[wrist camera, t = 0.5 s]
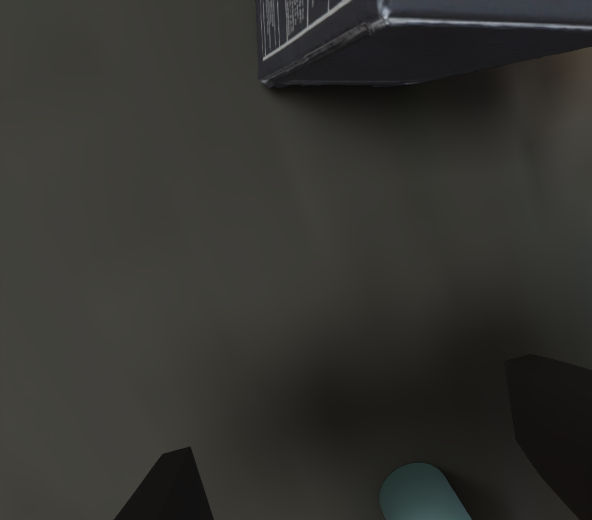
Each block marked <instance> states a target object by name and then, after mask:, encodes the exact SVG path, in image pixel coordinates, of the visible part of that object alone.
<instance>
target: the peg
mask: <svg viewBox="0 0 592 520" xmlns="http://www.w3.org/2000/svg"><path fill="white" fill-rule="evenodd" d="M379 503H380V507H381V510H382V512H383V515H384V517H385V520H472V519H471V518H470V516H469V514H468V513H467V511H466V510H465V508H464V506H463V505H462V503H461V502H460V500H459V498H458V497H457V495H456V494H455V492H454V490H453V489H452V487H451V486H450V484H449V482H448V481H447V479H446V478H445V476H444V475H443V473H442V472H441V471H440V470H439V469H437V468H436V467H434V466H432V465H430V464H426V463H410V464H407V465H404V466H401V467H400V468H398V469H396V470H395V471H393V472H392V473H391V474H390V475H389V476H388V477H387V478H386V480H385V481H384V483H383V484H382V487H381V489H380V493H379Z"/></svg>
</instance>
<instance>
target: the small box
mask: <svg viewBox="0 0 592 520" xmlns="http://www.w3.org/2000/svg"><path fill="white" fill-rule="evenodd" d="M255 1H256V22H257V43H258V65H259V70H258V79H259V80H260V81H261V82H262V83H263V84H264V85H266V86H267V87H268V88H271V87H273V86H274V87H284V86H289V85H294V84H297V85H301V86H304V87H305V86H307V85H314V86H320V85H324V84H327V85H329V86H330V85H350V86H355V85H371V86H373V87H388V86H390V87H393V86H400V85H415V84H419V83H423V82H426V81H432V80H437V79H441V78H445V77H450V76H454V75H459V74H464V73H469V72H473V71H478V70H483V69H487V68H491V67H498V66H502V65H506V64H511V63H515V62H520V61H525V60H530V59H534V58H541V57H543V56H548V55H553V54H560V53H564V52H570V51H574V50H578V49H582V48H586V47H592V0H255Z"/></svg>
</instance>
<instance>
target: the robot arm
mask: <svg viewBox="0 0 592 520" xmlns="http://www.w3.org/2000/svg"><path fill="white" fill-rule="evenodd" d="M505 368H506V375H507V382H508V389H509V396H510V403H511V410H512V417H513V424H514V431H515V437H516V441H517V442H518V444H519V445H520V447H521V448H522V450H523V451H524V453H525V454H526V456H527V457H528V459H529V460H530V462H531V463H532V465H533V466H534V467H535V469H536V470H537V471H538V473H539V474H540V476H541V477H542V478H543V479H544V481H545V482H546V483H547V484H548V485H549V486H550V487H551V488H552V490H553V491H554V492H555V493H556V494H557V495H558V496H559V497H560V498H561V500H562V501H563V502H564V503H565V504H566V505H567V506H568V507H569V508H570V510H571V511H572V512H573V513H574V514H575V515H576V516H577V517H578V518H579V519H580V520H592V370H588V369H585V368H582V367H578V366H575V365H571V364H568V363H564V362H561V361H557V360H554V359H550V358H546V357H542V356H537V355H532V354H529V355H526V356H522V357H518V358H515V359H511V360H507V361H505ZM114 520H214V519H213V516H212V512H211V509H210V506H209V503H208V500H207V497H206V494H205V491H204V487H203V484H202V481H201V478H200V475H199V472H198V469H197V466H196V462H195V459H194V456H193V453H192V450H191V447H187V448H183V449H179V450H176V451H172V452H168V453H165V454H163V455H162V456H161V457H160V458H159V459H158V461H157V462H156V463H155V465H154V466H153V467H152V469H151V470H150V472H149V473H148V474H147V476H146V477H145V479H144V480H143V481H142V483H141V484H140V485H139V487H138V488H137V490H136V491H135V492H134V494H133V495H132V496H131V498H130V499H129V500H128V502H127V503H126V504H125V506H124V507H123V508H122V510H121V511H120V512H119V514H118V515H117V516H116V518H115V519H114Z"/></svg>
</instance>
